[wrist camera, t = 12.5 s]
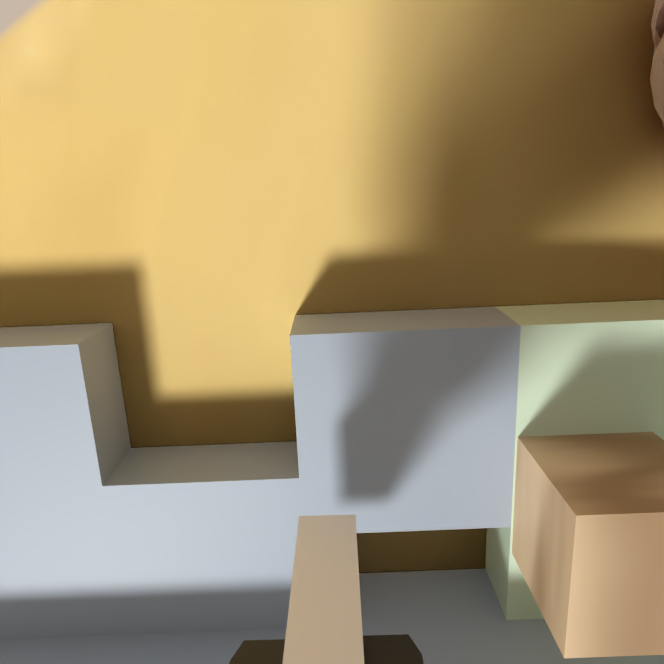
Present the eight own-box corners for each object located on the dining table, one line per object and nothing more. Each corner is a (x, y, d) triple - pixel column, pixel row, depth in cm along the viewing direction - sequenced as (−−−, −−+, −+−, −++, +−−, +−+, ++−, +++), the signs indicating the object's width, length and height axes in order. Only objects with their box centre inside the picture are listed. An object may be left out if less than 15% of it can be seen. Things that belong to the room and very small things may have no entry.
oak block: (652, 431, 16) (753, 508, 12) (638, 547, 17) (727, 652, 13) (517, 436, 16) (575, 515, 12) (511, 552, 17) (564, 658, 13)
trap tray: (-16, 610, 21) (-121, 739, 16) (-86, 331, 18) (-240, 385, 13) (670, 583, 21) (774, 706, 16) (710, 297, 18) (853, 339, 13)
